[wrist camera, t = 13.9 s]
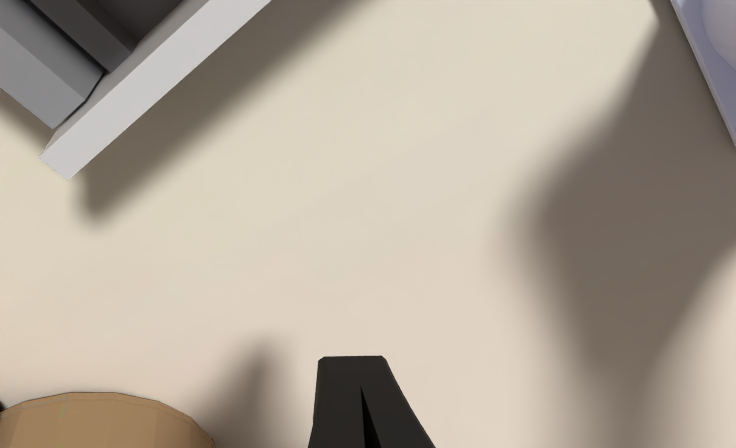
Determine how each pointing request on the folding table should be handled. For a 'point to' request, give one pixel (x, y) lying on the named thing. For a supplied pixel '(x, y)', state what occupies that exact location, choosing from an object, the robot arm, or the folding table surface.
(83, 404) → the alarm clock
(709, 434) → the folding table surface
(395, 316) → the folding table surface
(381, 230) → the folding table surface
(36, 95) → the frame
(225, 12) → the tray
